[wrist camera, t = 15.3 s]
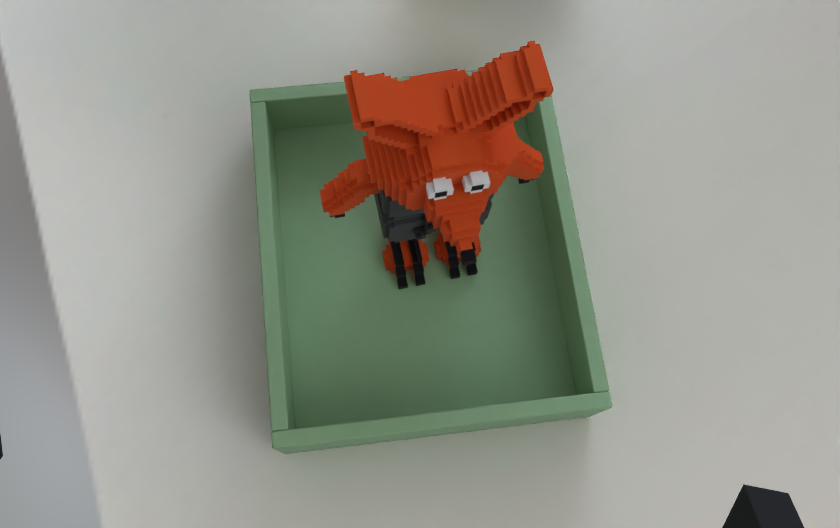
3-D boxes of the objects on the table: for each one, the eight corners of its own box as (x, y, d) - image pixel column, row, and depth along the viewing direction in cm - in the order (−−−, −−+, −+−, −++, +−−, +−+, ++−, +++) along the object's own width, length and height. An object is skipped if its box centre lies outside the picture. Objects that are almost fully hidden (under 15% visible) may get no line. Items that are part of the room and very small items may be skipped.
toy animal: (349, 344, 30) (327, 246, 19) (325, 218, 32) (291, 56, 20) (543, 304, 31) (635, 188, 19) (510, 184, 32) (577, 10, 21)
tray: (261, 125, 33) (249, 89, 30) (532, 101, 34) (545, 64, 31) (283, 454, 29) (272, 448, 26) (591, 416, 30) (613, 407, 27)
